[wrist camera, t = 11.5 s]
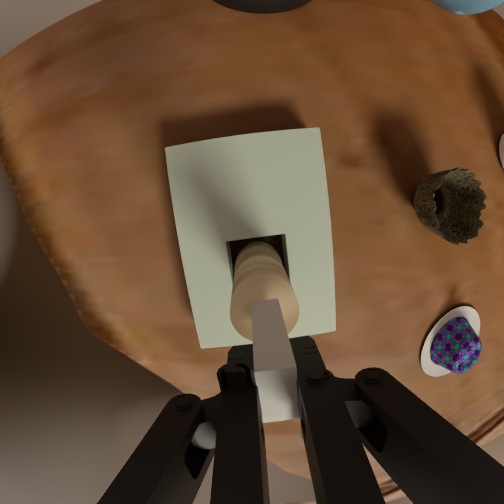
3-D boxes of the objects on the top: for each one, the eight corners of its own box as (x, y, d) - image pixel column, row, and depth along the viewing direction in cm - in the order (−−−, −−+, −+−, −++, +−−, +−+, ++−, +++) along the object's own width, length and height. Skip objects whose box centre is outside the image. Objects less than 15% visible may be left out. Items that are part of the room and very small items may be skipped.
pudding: (427, 386, 37) (442, 405, 32) (409, 338, 34) (427, 358, 29) (481, 341, 36) (499, 356, 30) (470, 288, 33) (492, 300, 28)
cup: (435, 238, 31) (476, 253, 23) (389, 221, 31) (427, 233, 23) (449, 181, 30) (492, 184, 22) (404, 159, 29) (445, 155, 21)
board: (175, 151, 28) (164, 147, 25) (310, 134, 28) (319, 127, 24) (205, 330, 33) (201, 348, 29) (326, 314, 33) (335, 330, 29)
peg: (233, 238, 31) (222, 283, 17) (275, 233, 31) (297, 274, 17) (239, 278, 32) (234, 347, 18) (279, 273, 32) (302, 338, 18)
